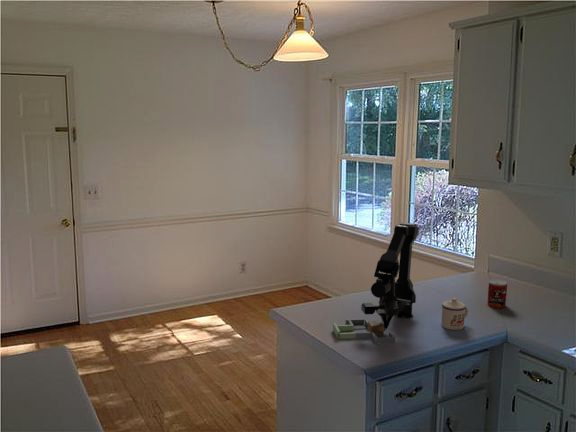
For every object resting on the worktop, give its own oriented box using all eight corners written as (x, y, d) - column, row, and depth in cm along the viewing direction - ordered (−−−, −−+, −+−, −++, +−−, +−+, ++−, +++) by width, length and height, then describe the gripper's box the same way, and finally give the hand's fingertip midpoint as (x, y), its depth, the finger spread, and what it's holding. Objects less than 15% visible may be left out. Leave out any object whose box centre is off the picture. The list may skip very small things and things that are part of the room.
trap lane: (381, 322, 222) (381, 315, 221) (395, 342, 202) (396, 335, 201) (330, 324, 219) (330, 317, 219) (340, 345, 200) (340, 337, 199)
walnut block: (380, 330, 214) (380, 320, 213) (383, 335, 209) (384, 325, 208) (367, 330, 213) (368, 321, 213) (371, 335, 208) (371, 325, 208)
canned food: (486, 307, 240) (488, 283, 238) (487, 301, 247) (489, 278, 245) (505, 309, 237) (507, 285, 235) (505, 303, 244) (507, 280, 242)
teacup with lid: (451, 332, 212) (453, 303, 210) (436, 324, 220) (437, 296, 218) (474, 327, 217) (476, 299, 215) (458, 319, 225) (460, 292, 223)
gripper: (368, 297, 200) (367, 337, 202) (417, 296, 202) (416, 335, 204) (361, 288, 210) (360, 326, 213) (408, 286, 213) (406, 324, 215)
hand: (385, 328), depth 211 cm, fingers closed
